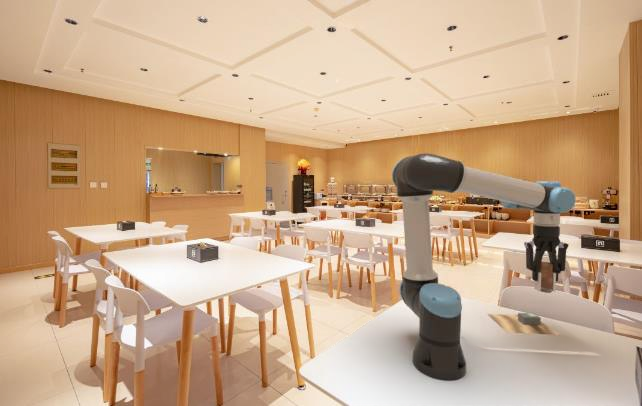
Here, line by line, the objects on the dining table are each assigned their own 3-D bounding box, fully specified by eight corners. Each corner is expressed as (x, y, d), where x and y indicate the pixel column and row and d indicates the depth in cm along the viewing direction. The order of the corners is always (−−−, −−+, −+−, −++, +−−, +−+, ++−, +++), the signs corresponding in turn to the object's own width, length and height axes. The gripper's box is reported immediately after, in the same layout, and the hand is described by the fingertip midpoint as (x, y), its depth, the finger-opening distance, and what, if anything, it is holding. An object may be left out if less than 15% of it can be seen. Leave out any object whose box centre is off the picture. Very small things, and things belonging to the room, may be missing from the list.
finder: (523, 324, 117) (524, 316, 117) (517, 320, 121) (518, 312, 121) (540, 325, 116) (540, 317, 116) (533, 320, 120) (534, 313, 120)
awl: (541, 292, 107) (542, 264, 106) (535, 288, 111) (535, 261, 110) (554, 292, 106) (555, 264, 106) (547, 289, 110) (548, 261, 110)
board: (506, 335, 111) (506, 332, 111) (487, 316, 127) (487, 313, 127) (559, 338, 109) (559, 334, 109) (532, 318, 125) (533, 315, 125)
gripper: (526, 226, 105) (524, 292, 106) (580, 226, 102) (578, 294, 104) (515, 223, 112) (513, 285, 113) (565, 223, 110) (563, 287, 111)
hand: (544, 289), depth 109 cm, fingers closed on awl, 4 cm apart
